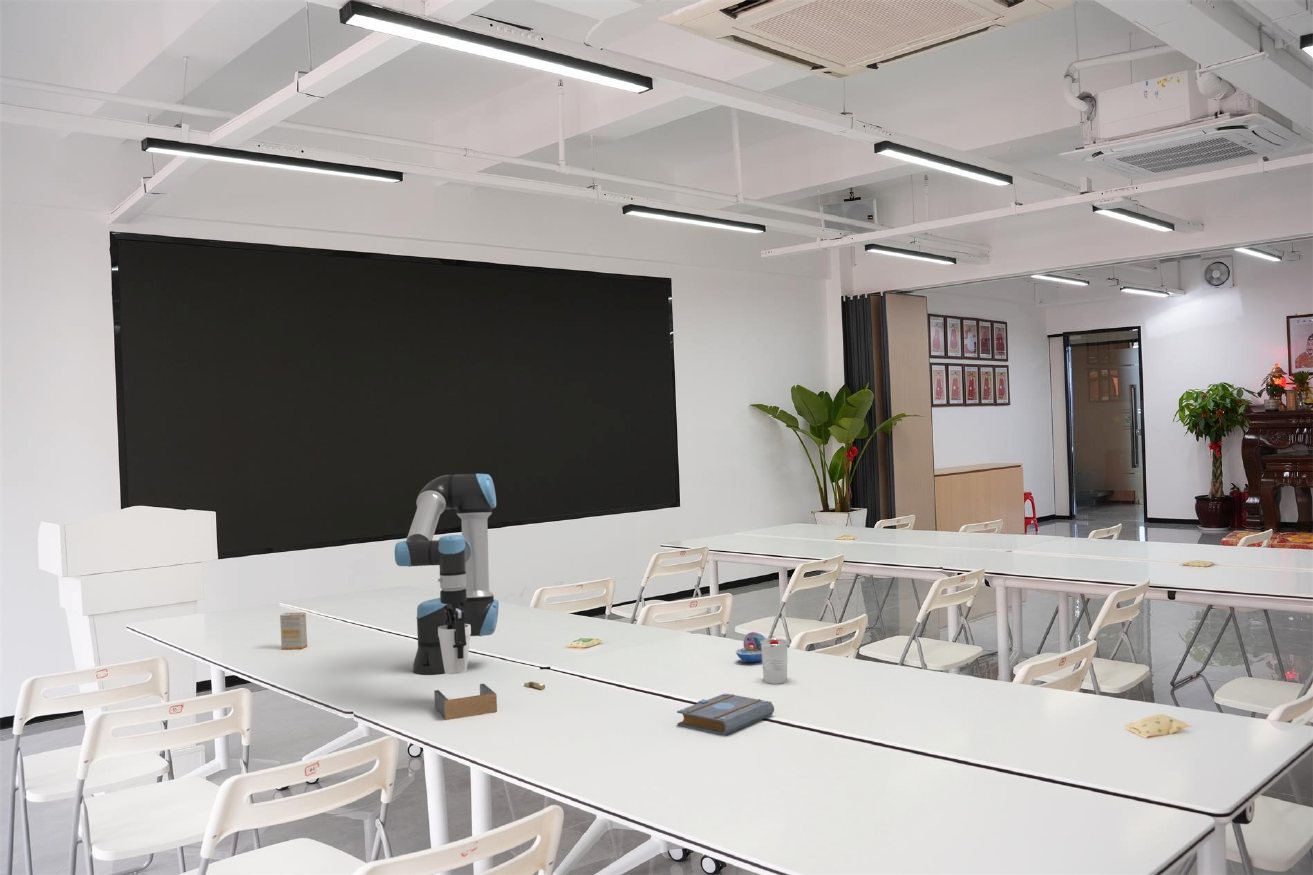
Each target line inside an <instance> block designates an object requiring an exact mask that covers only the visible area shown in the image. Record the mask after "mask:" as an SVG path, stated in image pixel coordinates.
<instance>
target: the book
mask: <svg viewBox="0 0 1313 875" xmlns="http://www.w3.org/2000/svg"><path fill="white" fill-rule="evenodd" d="M774 712H775V705H774V704H773V703H772V701H768V700H765V699H763V700H762V699H760V698H753V697H747V696H741V695H737V694H733V693H732V694H730V693H722V694H719V695H717V696H713V697H712V698H709V699H701V700H699V701H698V702H697V703H695V704H693V705H689V706H686V707H685V708H683V709H682V708H681V709H680V710H677V711H676V713H677V714H681V715H683V720H682V721H680V722H678V723H676V724H677V726H679V727H683V728H688V729H693V730H697V731H701V732H706V733H710V734H711V733H712V734H716V735H720V736H724V737H725V736H727V735H730V734H732V733H735V732H736V731H739V730H741V729H744V728H746V727H749V726H750V725H753V724H755V723H757V722H760V721H762V720H765V719H767V718H769V717H771V716H773V713H774Z"/></svg>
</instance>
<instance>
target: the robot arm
mask: <svg viewBox="0 0 1313 875" xmlns="http://www.w3.org/2000/svg"><path fill="white" fill-rule="evenodd" d="M493 481H494V480H493V478H492V477H491V475H490V474H489V473H488V474H487V473H466V474H463V473H462V474H461V473H460V474H444V475H441V476H438V477H436V478H434V479H432V480H431V481H430V482H428V483H427V484H426V485H425V486H423V488H422V489H421V490H420V491H419V493H418V495H417V498H416V507H417V508H416V511H415V514H414V517H413V519H412V522H411V525H410V527H409V528H410V529H409V532H408V535H407V537H406V540H402V541H398V542H396V543H395V546H394V561H395V564H396V565H397V566H399V567H408V568H409V567H425V566H438V567H439V578H438V579H437V582H438V583H439V589H441V590H440V593H439V595H440V596H439V597H437V598H432V599H429V600H425V601H422V602H421V603H419V604H418V605H417V608H416V617H415V618H416V626H417V628H416V630H417V633H416V634H417V650H416V653H415V657H414V660H413V664H412V665H413V666H412V671H413V673H416V674H418V675H419V674H421V675H439V674H446V673H445V671H444V665H443V658H442V652H441V646H440V640H439V637H438V627H440V626H443V625H447V629H455V630H456V632H455V631H454V640H455V645H453V648H454V657H455V670H462V669H465V657H464V646H465V645H466V636H465V625H464V624H469V625H470V626H471V634H470V637H479V638H480V637H484V636H491V635H493V634H494V633H495V631H496V628H497V623H498V615H499V600H498V599H497V598H496V599H495V598H494V596H495V595H494V593H493V592H492V591H491V590H490V580H489V576H490V575H489V573H490V572H489V538H488V536H489V534H488V532H489V531H488V519H489V517H490V516H491V515H492V513H493V509H496V507H497V496H496V489H495V485H494V482H493ZM445 510H456V515H457V516H458V517H459V518H460V519H461V534H455V535H454V534H450V535H443V536H440V537H439V539H438V540H437V539H436V540H433V538H434V536H435V532H436V528H437V525H438V523H439V519H440V516H441V514H443V513H444V511H445ZM459 641H461V642H459Z"/></svg>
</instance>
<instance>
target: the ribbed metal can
mask: <svg viewBox="0 0 1313 875" xmlns="http://www.w3.org/2000/svg"><path fill="white" fill-rule="evenodd" d="M760 643H761V644H758V645H761V651H762V659H761V666H762V674H763V682H764V683H766V684H772V685H779V684H780V685H781V684H784V683H787V681H788V648H789V647H791V645H788V643H789V640H787V639H783V638H766V639H765V640H761V641H760Z"/></svg>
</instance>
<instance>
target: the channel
mask: <svg viewBox="0 0 1313 875" xmlns="http://www.w3.org/2000/svg"><path fill="white" fill-rule="evenodd" d="M433 694H434V696H433V697H434V709H435V710H436V711H437V712H438V713H439V714H440V715H441V716H442V718H444V720H446V721H447V720H453V719H459V718H465V717H471V716H472V717H473V716H478V715H484V714H491V713H498V702H497V697H498V696H497V692H495V691H494V690H492V689H491V688H490V687H489V686H488V685H486V684H485V683H480V684H479V694H478V695H472V696H465V697H464V696H463V697H457V698H451V699H448V697H446V695H444V694H443V693H442V692H441V690H439V689H437V690H434V691H433Z"/></svg>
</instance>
